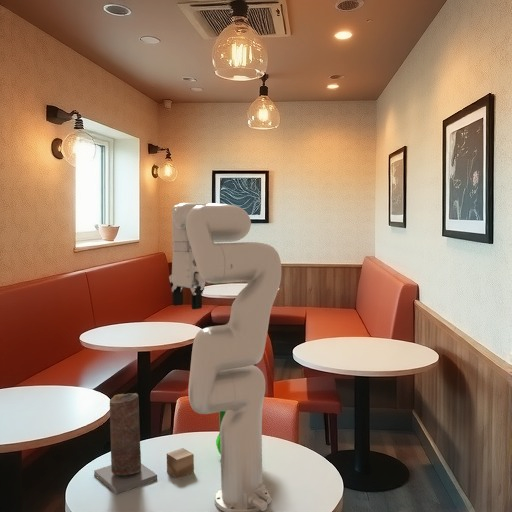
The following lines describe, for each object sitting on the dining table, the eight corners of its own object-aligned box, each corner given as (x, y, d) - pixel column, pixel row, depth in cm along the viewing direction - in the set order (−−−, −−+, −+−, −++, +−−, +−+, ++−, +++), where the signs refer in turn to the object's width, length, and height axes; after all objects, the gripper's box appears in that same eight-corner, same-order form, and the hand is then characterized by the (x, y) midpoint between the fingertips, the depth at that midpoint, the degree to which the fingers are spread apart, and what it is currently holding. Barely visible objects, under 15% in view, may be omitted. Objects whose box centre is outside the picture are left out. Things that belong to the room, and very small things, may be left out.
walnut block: (193, 472, 136) (193, 453, 135) (177, 479, 132) (176, 459, 132) (183, 466, 139) (182, 447, 139) (167, 472, 136) (166, 453, 136)
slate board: (157, 479, 132) (157, 474, 132) (116, 494, 125) (116, 489, 125) (133, 462, 142) (133, 457, 142) (94, 475, 135) (94, 470, 135)
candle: (133, 481, 129) (131, 401, 128) (105, 479, 130) (103, 399, 129) (145, 467, 136) (143, 391, 135) (119, 465, 138) (117, 390, 137)
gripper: (214, 248, 147) (215, 308, 148) (180, 246, 160) (181, 302, 161) (191, 249, 142) (193, 311, 143) (159, 247, 155) (160, 305, 156)
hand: (187, 306), depth 152 cm, fingers open, 9 cm apart
